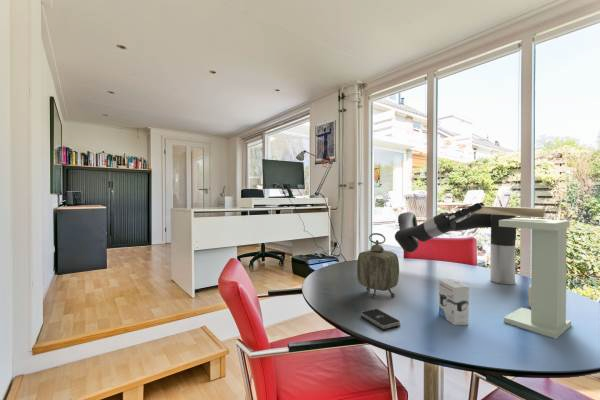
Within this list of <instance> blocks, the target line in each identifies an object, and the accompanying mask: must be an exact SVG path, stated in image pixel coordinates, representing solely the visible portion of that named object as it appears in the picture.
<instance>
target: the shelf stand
mask: <svg viewBox="0 0 600 400" xmlns="http://www.w3.org/2000/svg"><path fill="white" fill-rule="evenodd" d="M570 221H571V220H564V219H563V220H562V219H561V220H560V219H546V218H545V219H543V218H527V217H526V218H524V217H516V218H512V219H504V220H499V226H501V227H514V228H516V229H527V230H529V229H530V230H531V259H530V260H531V273H530V274H531V275H530V276H531V277H530V279H531V280H530V285H531V307H530V308H529V309H528V308H524V307H519V308H518V309H516V310H514V311H512V312H511V313H509V314H507V315H505V316H504V317H503V323H506V324H508V325H512V326H515V327H517V328H521V329H525V330H527V331H530V332H533V333H536V334H540V335H544V336H546V337H549V338H553V339H557V338H558V337H560V336H561V335H562V334H563V333H564V332H566V331H567V330H568V329H570V327H572V320H569V319H567V313H566V312H567V241H568V240H567V238H568V237H567V236H568V235H567V233H568V232H567V231H568V230H567V229H568V228H571V223H570Z"/></svg>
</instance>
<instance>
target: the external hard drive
mask: <svg viewBox="0 0 600 400" xmlns="http://www.w3.org/2000/svg"><path fill="white" fill-rule="evenodd" d="M360 317H361V318H362V319H363V320H365V321H366V322H368V323H369V324H371V325H373V326H374V327H376V328H377V329H379V330H381V331H382V332H386V331H390V330H392V329H396V328H400V327H401V321H400V320H399V319H398V318H395V317H393V316H391V315H390V314H388V313H385V312H384V311H382V310H380V309H378V308H373V309H368V310H365V311H364V310H363V311H361V312H360Z"/></svg>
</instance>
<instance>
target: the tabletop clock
mask: <svg viewBox="0 0 600 400" xmlns="http://www.w3.org/2000/svg"><path fill="white" fill-rule="evenodd" d="M376 235H377V236H380V237H382V238H383V239H384V240H383V241H380V242H379V240H378V239H376V240H375V241H374V240H372V239H371V237H372V236H376ZM368 240H369V241H370V242H371V243H373V245H371V247H370V249H368V250H365V251H361V252H359V253H358V256H357V266H356V269H357V272H356V273H357V274H356V275H357V276H356V277H357V281H358V284H360V285H361V286H363V287H365V289H366V291H367V292H370V291H371V289H372V290H373V293H372V295H371V296H372V298H373V299H375V298H377V297H378V296H377V291H382V292H385V291H388V292H389V294H390V297H391V298H395V297H396V294H395V293H393V292H392V290H391V289H393V288H395V287H396V286H397V285H398V283H399V280H400V278H399V277H400V263H399V262H400V261H399V258H398V255H397V253H395V252H393V251H391V250H386V249H384V247H383V246H382V244H384V243H385V242H386V237H385V235H384V234H382V233H379V232H374V233H371V234H370V235H369V237H368Z"/></svg>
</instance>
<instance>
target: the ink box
mask: <svg viewBox="0 0 600 400" xmlns="http://www.w3.org/2000/svg"><path fill="white" fill-rule="evenodd" d="M438 281H439V282H438V314H439V316H441V317H442V318H443V319H445V320H447V321H448V322H450V323H451V324H452V325H454V326H461V325H463V326H466V325H469V317H470V316H469V314H470V313H469V309H470V308H469V303H470V302H469V298H470V297H469V296H470V295H469V286H468V285H466V284H464V283H461V282H459V281H457V280H456V279H439V280H438Z"/></svg>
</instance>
